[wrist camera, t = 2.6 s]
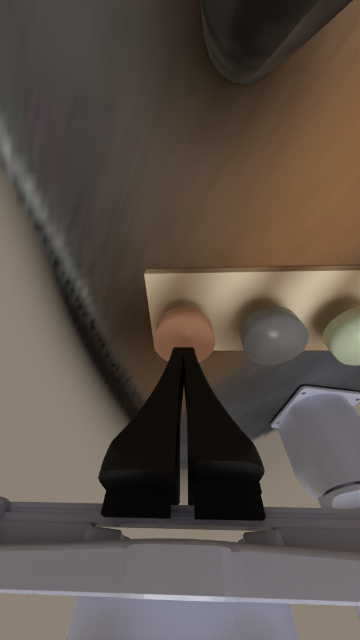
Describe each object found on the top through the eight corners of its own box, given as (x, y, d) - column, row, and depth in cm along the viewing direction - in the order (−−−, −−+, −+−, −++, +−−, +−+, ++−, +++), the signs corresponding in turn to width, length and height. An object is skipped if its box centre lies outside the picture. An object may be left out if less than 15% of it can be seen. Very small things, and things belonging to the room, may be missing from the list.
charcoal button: (301, 300, 15) (319, 318, 13) (284, 344, 17) (297, 365, 15) (241, 300, 15) (249, 319, 13) (233, 344, 17) (239, 365, 15)
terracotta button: (213, 301, 15) (217, 319, 13) (209, 344, 17) (212, 365, 15) (155, 301, 15) (150, 319, 13) (160, 344, 17) (156, 365, 15)
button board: (393, 264, 15) (405, 269, 14) (344, 343, 20) (351, 350, 19) (146, 269, 16) (144, 273, 15) (156, 343, 20) (154, 350, 19)
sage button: (391, 298, 14) (424, 317, 12) (361, 343, 17) (384, 365, 15) (330, 299, 14) (353, 318, 12) (309, 344, 17) (325, 365, 15)
